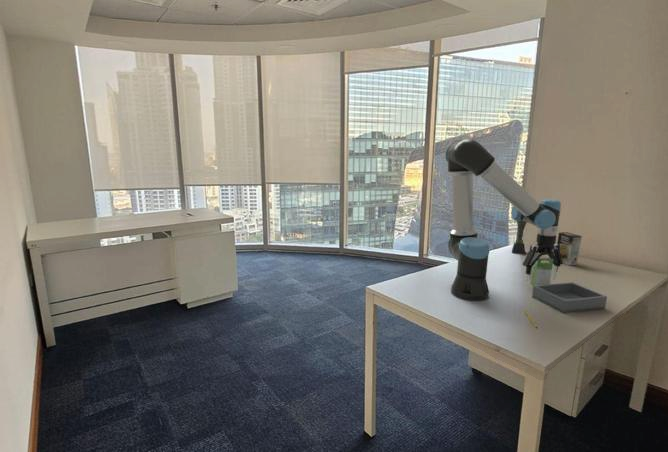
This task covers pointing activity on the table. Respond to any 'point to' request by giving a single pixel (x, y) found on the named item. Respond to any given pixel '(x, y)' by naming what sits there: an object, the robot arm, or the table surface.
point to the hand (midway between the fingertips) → (540, 280)
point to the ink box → (542, 272)
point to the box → (569, 297)
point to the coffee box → (569, 247)
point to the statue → (519, 239)
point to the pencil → (530, 319)
